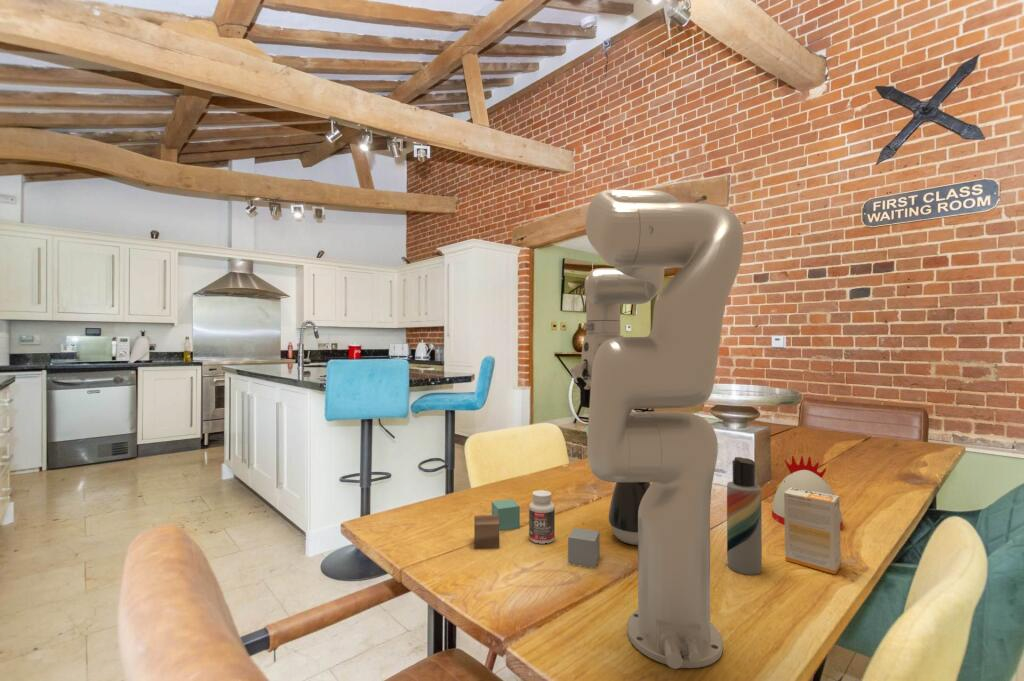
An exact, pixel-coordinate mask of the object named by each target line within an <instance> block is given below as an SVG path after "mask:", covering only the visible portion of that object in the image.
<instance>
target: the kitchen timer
mask: <svg viewBox="0 0 1024 681" xmlns="http://www.w3.org/2000/svg"><path fill="white" fill-rule="evenodd" d="M795 459H796V458H795V457H794V455H792V456H791V463H789V462H788V461H787V460H786V459H785V460H784V463H785V465H786V467H787V469H788V471H789V474H788V475H786V477H784V478H783V479H782V481H781V482H780V483H778V484H777V485H776V486H775V487H776V488H777V489H776V492H775V495H774V498H773V500H772V507H771V517H772V518H773V520H775V521H776V522H778V523H780V524H781V525H784V526H785V515H784V492H785V491H787V490H788V489H789V488H791V487H793V488H798V489H803V490H809V491H814V492H820V493H825V494H830V495H836V494H835V492H834V491H833V489H832V487H831V486H830V484H829V483H828V482H827V481H826V480H825V479H824V478H823V476H824V475H825V473H826V471H827V467H824V469H823V470H822V471H820V472H818V468H819V464H820V463H819V461H817V462H816V463H815V464H814V465H813V464H812V460H811V456H808V458H807V462H806V464H805V461H804V458H803V455H801V457H800V460H799V463H798V464H797V462H796V460H795ZM843 521H844V520H843V515H842V511H841V510H840V531H842V529H843V526H844V524H843Z"/></svg>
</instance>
